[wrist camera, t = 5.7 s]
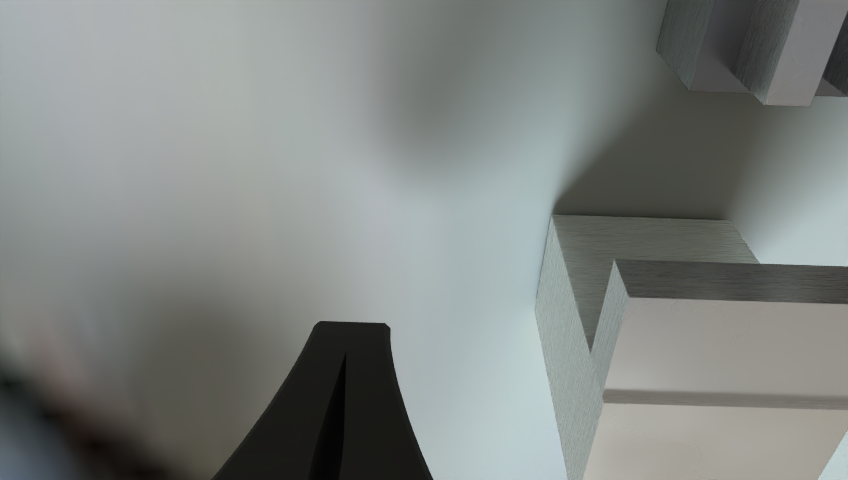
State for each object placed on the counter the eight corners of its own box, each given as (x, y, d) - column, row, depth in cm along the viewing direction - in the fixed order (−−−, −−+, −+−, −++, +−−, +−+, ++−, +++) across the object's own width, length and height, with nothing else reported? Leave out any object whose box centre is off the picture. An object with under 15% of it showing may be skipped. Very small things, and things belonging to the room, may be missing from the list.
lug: (759, 138, 14) (918, 313, 9) (696, 315, 16) (795, 515, 12) (565, 132, 14) (631, 303, 9) (534, 310, 16) (573, 509, 12)
